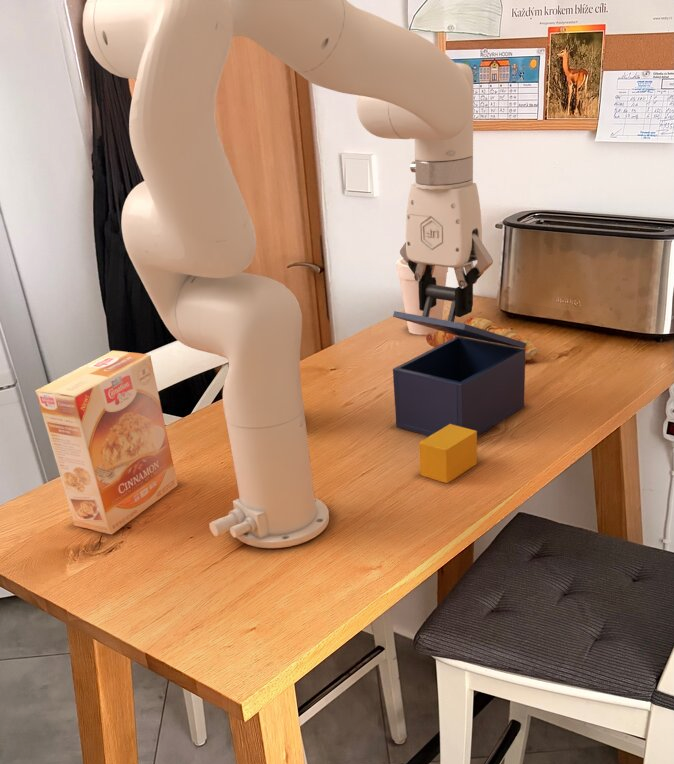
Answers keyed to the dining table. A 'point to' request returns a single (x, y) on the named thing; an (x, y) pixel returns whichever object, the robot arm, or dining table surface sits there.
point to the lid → (449, 324)
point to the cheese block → (448, 453)
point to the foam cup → (412, 295)
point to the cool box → (459, 386)
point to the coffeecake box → (109, 439)
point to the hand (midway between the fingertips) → (445, 310)
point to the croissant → (487, 325)
